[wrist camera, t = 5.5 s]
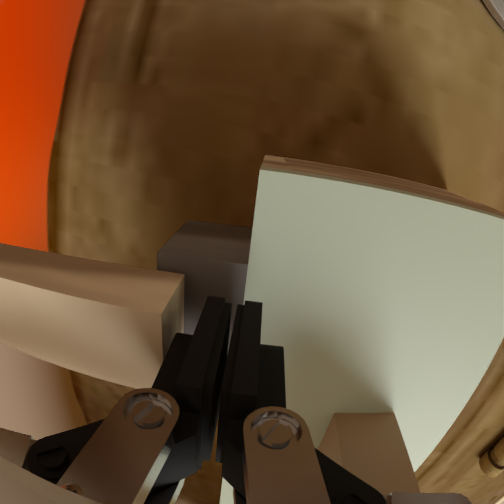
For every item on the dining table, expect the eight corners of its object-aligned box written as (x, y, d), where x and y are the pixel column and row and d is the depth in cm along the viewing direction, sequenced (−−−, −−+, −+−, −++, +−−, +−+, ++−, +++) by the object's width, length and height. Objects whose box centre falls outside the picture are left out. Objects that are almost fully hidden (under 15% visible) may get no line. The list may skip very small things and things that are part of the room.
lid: (260, 166, 10) (244, 211, 4) (526, 223, 10) (630, 285, 4) (219, 505, 19) (209, 576, 12) (366, 508, 18) (375, 572, 12)
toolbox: (213, 149, 18) (161, 160, 9) (447, 190, 18) (542, 231, 9) (197, 429, 26) (178, 511, 18) (353, 440, 26) (368, 519, 17)
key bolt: (-7, 241, 10) (-46, 262, 8) (184, 274, 10) (161, 314, 8) (4, 302, 11) (-28, 329, 9) (183, 348, 11) (165, 395, 9)
